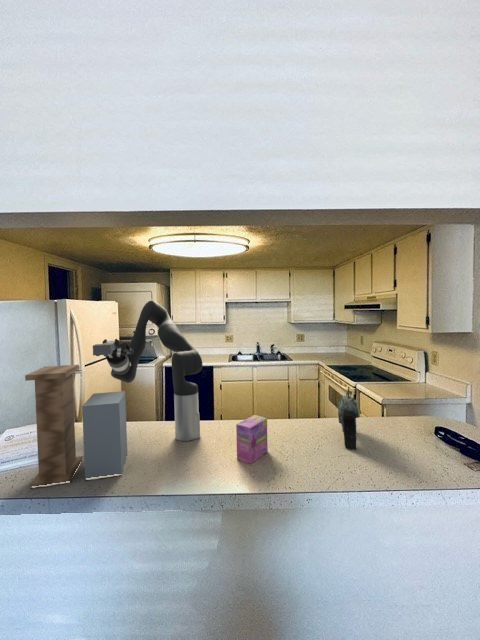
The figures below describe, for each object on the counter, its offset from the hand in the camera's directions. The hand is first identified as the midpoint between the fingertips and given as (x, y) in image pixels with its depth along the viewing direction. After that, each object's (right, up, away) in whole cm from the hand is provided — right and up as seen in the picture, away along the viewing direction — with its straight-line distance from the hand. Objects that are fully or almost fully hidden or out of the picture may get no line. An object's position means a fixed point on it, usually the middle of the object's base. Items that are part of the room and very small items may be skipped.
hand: (110, 341), depth 107 cm
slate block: (+4, -39, -11) cm, 41 cm away
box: (+50, -38, -6) cm, 63 cm away
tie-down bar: (+1, -3, -4) cm, 5 cm away
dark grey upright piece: (+86, -37, +5) cm, 93 cm away
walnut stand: (-10, -39, -15) cm, 43 cm away
